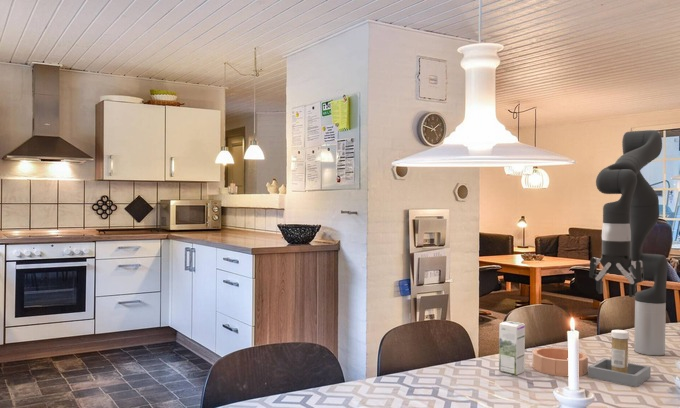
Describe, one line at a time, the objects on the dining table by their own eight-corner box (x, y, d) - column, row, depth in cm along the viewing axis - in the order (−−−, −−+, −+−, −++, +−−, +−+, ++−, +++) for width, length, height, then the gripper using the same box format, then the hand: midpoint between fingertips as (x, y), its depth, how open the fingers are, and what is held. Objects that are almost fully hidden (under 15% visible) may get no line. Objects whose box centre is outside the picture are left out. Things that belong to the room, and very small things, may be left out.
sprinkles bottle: (631, 377, 170) (632, 331, 170) (622, 380, 168) (623, 333, 167) (616, 373, 174) (617, 328, 174) (607, 376, 171) (608, 330, 171)
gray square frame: (604, 368, 180) (604, 358, 180) (650, 377, 171) (650, 366, 171) (588, 377, 170) (588, 366, 170) (636, 387, 162) (636, 376, 162)
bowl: (545, 359, 190) (545, 345, 190) (594, 368, 179) (594, 353, 179) (523, 368, 178) (524, 353, 178) (575, 379, 168) (575, 363, 168)
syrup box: (525, 371, 175) (525, 322, 175) (516, 375, 171) (516, 325, 171) (507, 367, 179) (508, 320, 179) (498, 371, 175) (498, 322, 175)
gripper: (647, 239, 167) (646, 296, 168) (595, 236, 177) (595, 290, 177) (638, 241, 162) (638, 300, 162) (586, 238, 171) (585, 294, 172)
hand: (615, 295), depth 170 cm, fingers open, 8 cm apart
